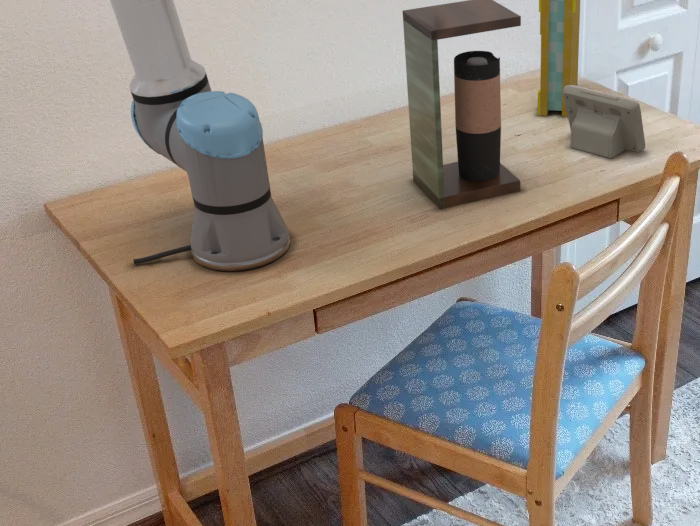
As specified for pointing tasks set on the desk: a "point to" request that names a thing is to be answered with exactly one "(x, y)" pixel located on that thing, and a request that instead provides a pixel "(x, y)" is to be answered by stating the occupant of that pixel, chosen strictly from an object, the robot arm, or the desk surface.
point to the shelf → (425, 97)
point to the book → (558, 52)
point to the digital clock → (603, 121)
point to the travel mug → (477, 114)
